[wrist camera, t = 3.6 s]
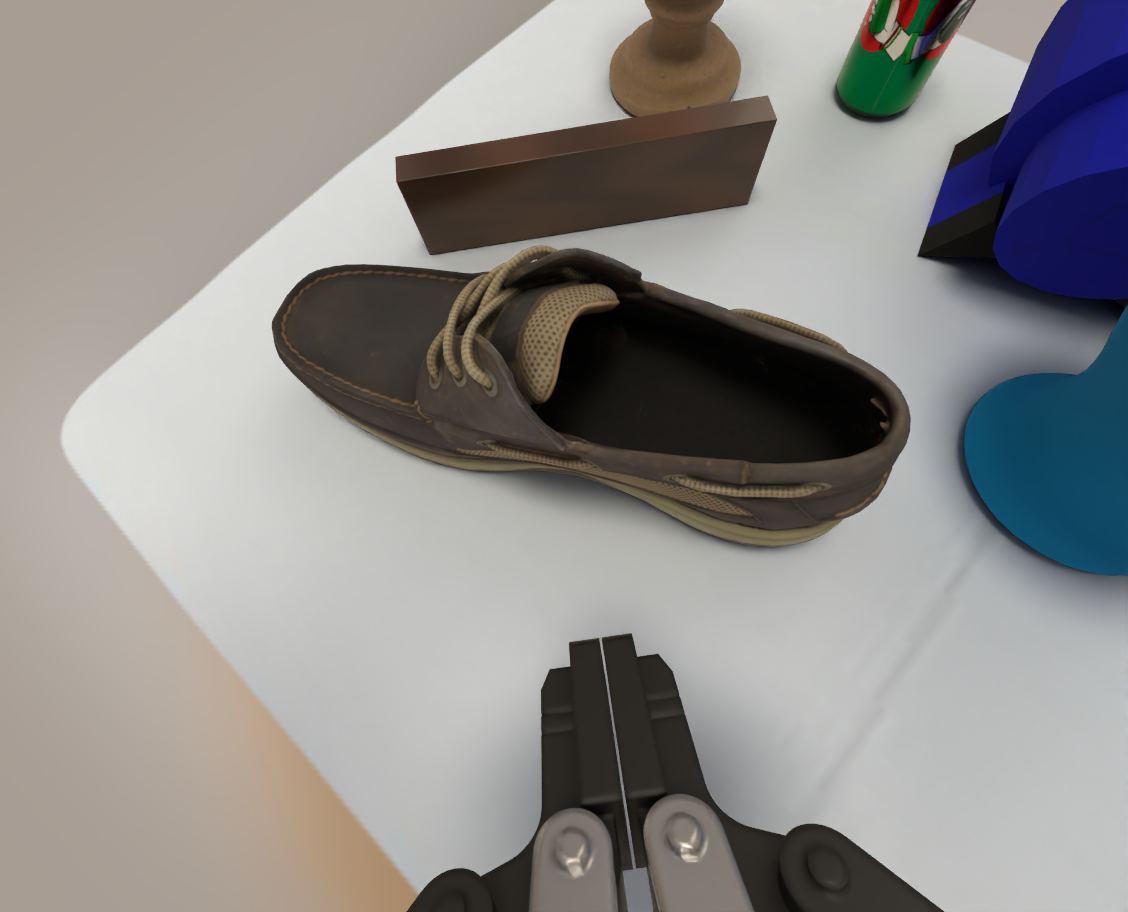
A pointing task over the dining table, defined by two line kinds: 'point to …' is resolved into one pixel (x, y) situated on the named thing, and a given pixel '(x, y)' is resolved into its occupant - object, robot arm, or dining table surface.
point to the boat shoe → (602, 387)
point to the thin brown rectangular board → (587, 175)
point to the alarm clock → (1051, 166)
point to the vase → (1059, 459)
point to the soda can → (897, 53)
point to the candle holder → (675, 60)
